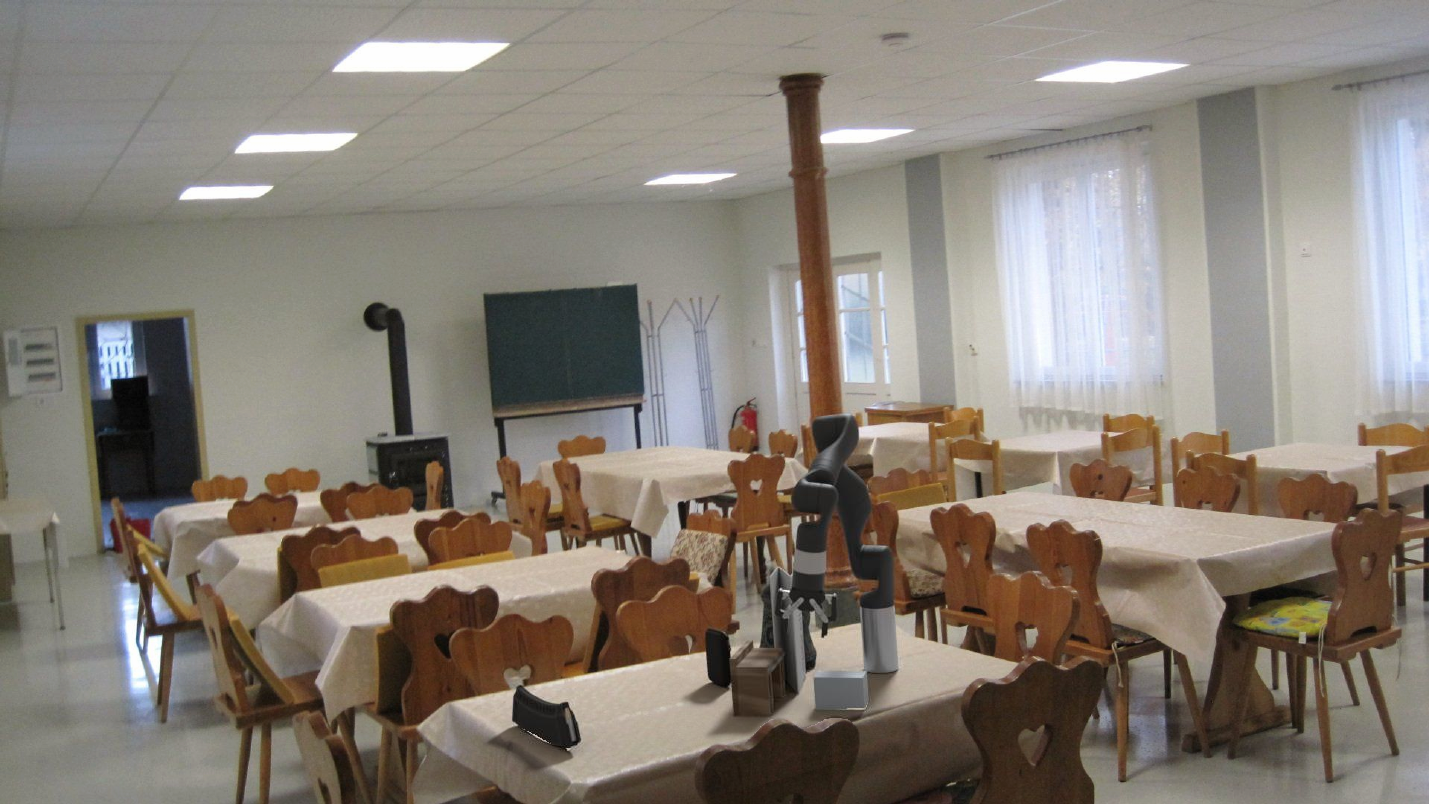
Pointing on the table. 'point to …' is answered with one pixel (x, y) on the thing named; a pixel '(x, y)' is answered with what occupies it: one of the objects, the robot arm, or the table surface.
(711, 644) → the carrying case or bag
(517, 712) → the magazine
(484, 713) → the table surface
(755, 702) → the cubby
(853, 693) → the grey block
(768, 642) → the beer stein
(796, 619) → the brochure
